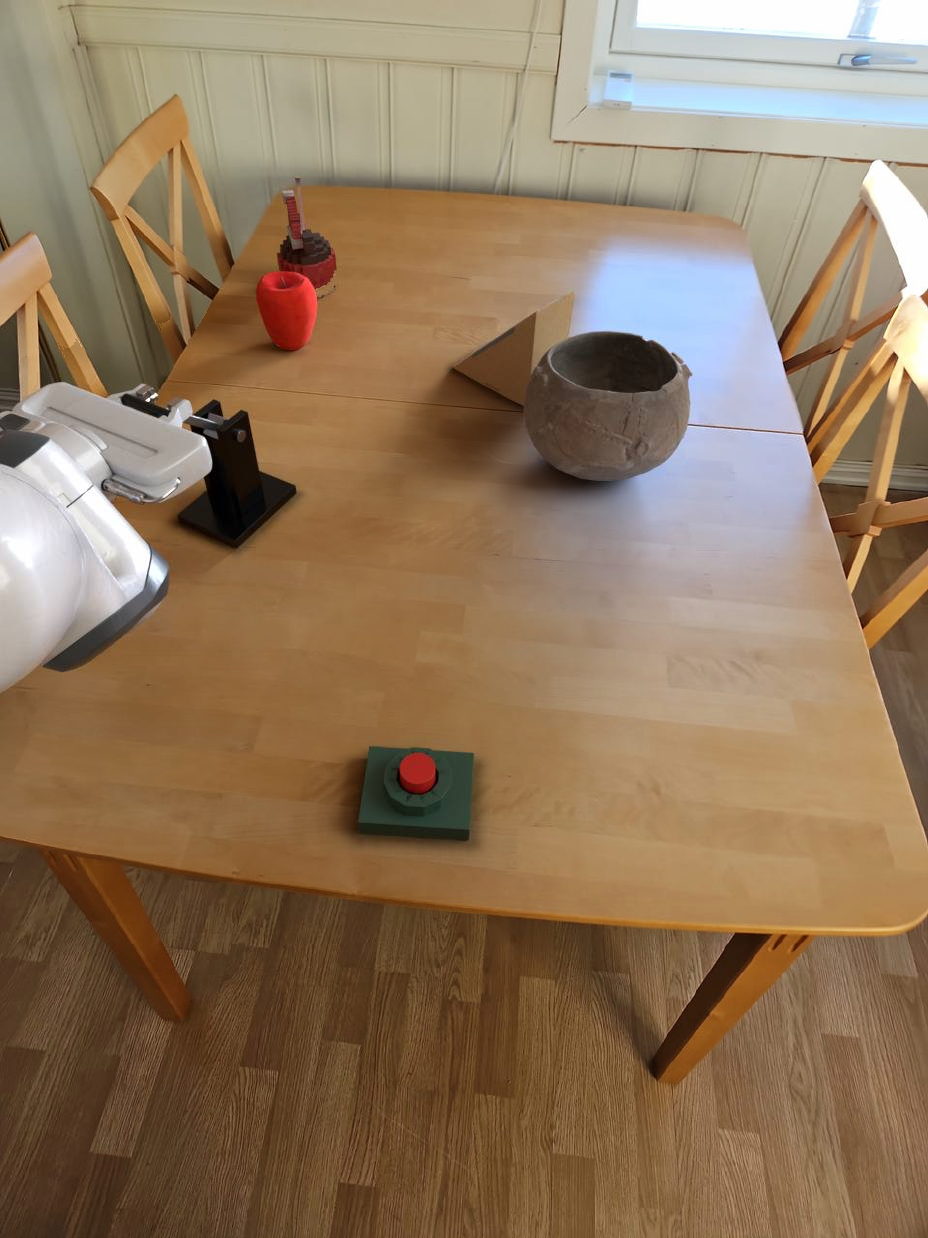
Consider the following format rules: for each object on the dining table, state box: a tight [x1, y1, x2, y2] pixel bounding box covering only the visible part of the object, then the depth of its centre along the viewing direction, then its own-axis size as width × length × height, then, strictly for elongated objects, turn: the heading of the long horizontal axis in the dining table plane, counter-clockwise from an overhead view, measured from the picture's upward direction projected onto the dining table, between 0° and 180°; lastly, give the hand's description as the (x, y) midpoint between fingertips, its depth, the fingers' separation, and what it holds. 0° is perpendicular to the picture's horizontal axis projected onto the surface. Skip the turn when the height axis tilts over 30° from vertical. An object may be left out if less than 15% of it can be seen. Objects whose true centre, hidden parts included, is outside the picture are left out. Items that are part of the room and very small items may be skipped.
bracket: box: [176, 398, 298, 549], centre depth 98 cm, size 12×9×14 cm
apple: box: [255, 270, 318, 351], centre depth 125 cm, size 9×9×11 cm
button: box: [400, 753, 435, 794], centre depth 74 cm, size 3×3×2 cm
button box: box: [357, 745, 475, 842], centre depth 76 cm, size 10×8×4 cm
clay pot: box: [523, 330, 693, 482], centre depth 107 cm, size 21×21×15 cm
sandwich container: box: [452, 290, 576, 407], centre depth 119 cm, size 9×15×15 cm, turn 47°
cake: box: [276, 175, 339, 298], centre depth 134 cm, size 11×9×18 cm
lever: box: [121, 393, 229, 439], centre depth 89 cm, size 14×6×2 cm
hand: (168, 397), depth 85 cm, fingers closed on lever, 3 cm apart
